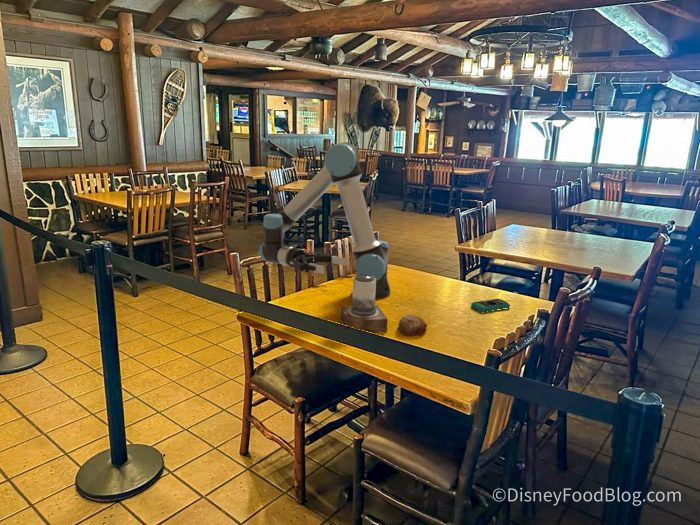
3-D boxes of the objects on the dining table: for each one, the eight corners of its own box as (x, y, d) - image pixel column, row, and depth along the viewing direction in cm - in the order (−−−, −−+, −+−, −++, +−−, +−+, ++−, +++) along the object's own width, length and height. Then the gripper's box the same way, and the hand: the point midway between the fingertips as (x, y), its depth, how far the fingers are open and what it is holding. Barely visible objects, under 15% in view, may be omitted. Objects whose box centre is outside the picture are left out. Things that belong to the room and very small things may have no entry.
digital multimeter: (510, 309, 202) (511, 303, 202) (481, 314, 196) (482, 307, 195) (498, 304, 209) (499, 297, 208) (469, 308, 203) (470, 301, 202)
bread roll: (399, 335, 182) (391, 316, 180) (425, 323, 182) (417, 305, 180) (404, 346, 173) (396, 327, 170) (432, 334, 172) (423, 315, 170)
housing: (372, 306, 184) (374, 272, 180) (379, 315, 175) (380, 280, 172) (348, 307, 182) (349, 273, 179) (353, 316, 173) (354, 280, 170)
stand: (377, 317, 188) (377, 304, 187) (386, 332, 175) (387, 317, 173) (340, 319, 185) (340, 305, 184) (347, 334, 172) (348, 319, 171)
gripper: (312, 259, 208) (354, 268, 196) (269, 273, 188) (313, 283, 176) (312, 242, 206) (354, 249, 194) (269, 253, 186) (313, 263, 174)
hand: (335, 265), depth 185 cm, fingers open, 13 cm apart
